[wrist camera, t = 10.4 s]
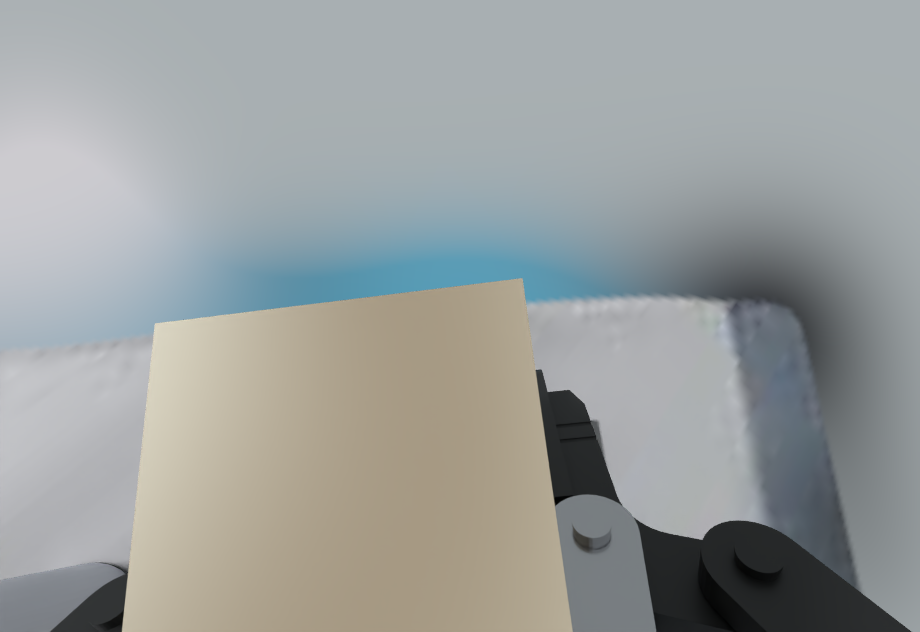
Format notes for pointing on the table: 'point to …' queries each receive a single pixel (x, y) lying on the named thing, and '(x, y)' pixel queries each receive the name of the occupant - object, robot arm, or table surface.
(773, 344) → the table surface
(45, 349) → the table surface
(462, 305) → the tall birch block
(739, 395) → the table surface
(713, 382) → the table surface
